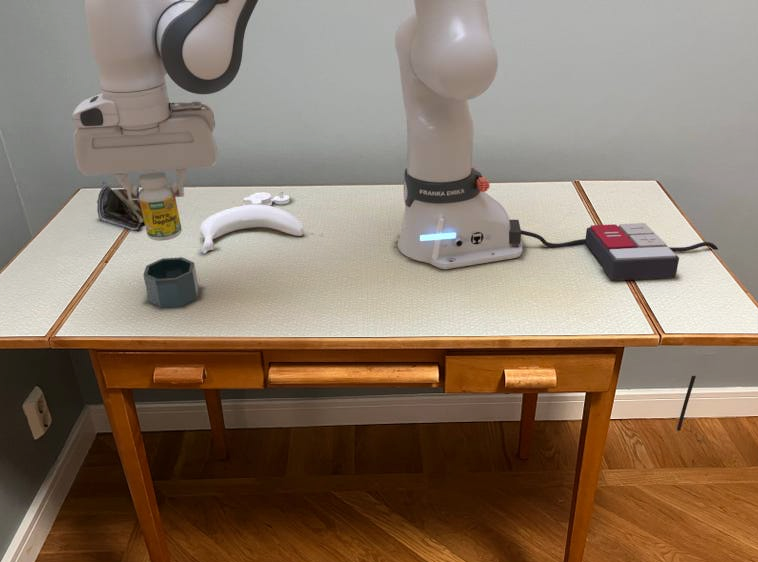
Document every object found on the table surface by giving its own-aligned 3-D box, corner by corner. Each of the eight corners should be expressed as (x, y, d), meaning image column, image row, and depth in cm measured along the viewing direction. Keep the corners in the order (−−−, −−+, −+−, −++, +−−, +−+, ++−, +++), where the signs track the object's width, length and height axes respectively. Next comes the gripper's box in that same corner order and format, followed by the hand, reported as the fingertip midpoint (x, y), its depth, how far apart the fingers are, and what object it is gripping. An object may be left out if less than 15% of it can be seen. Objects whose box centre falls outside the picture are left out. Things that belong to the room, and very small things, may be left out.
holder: (200, 282, 126) (195, 256, 124) (196, 305, 120) (191, 278, 117) (153, 285, 126) (148, 259, 123) (147, 309, 120) (140, 281, 117)
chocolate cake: (168, 221, 149) (140, 170, 149) (141, 224, 143) (112, 170, 144) (143, 246, 154) (116, 196, 155) (116, 250, 148) (88, 198, 149)
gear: (272, 217, 148) (271, 207, 147) (234, 212, 151) (233, 202, 150) (292, 199, 156) (291, 189, 154) (255, 195, 158) (254, 185, 157)
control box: (646, 220, 134) (681, 253, 122) (642, 242, 137) (676, 277, 124) (586, 223, 134) (615, 257, 121) (583, 245, 136) (611, 281, 123)
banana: (309, 225, 145) (289, 259, 133) (217, 224, 148) (190, 257, 136) (306, 201, 142) (286, 234, 130) (212, 201, 145) (184, 233, 134)
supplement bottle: (175, 224, 120) (163, 166, 114) (187, 235, 116) (176, 176, 111) (142, 232, 118) (129, 174, 112) (153, 244, 114) (141, 185, 108)
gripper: (213, 94, 109) (226, 184, 117) (70, 103, 107) (94, 193, 115) (209, 106, 103) (224, 200, 111) (60, 116, 102) (85, 210, 110)
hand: (156, 197), depth 113 cm, fingers closed on supplement bottle, 5 cm apart
